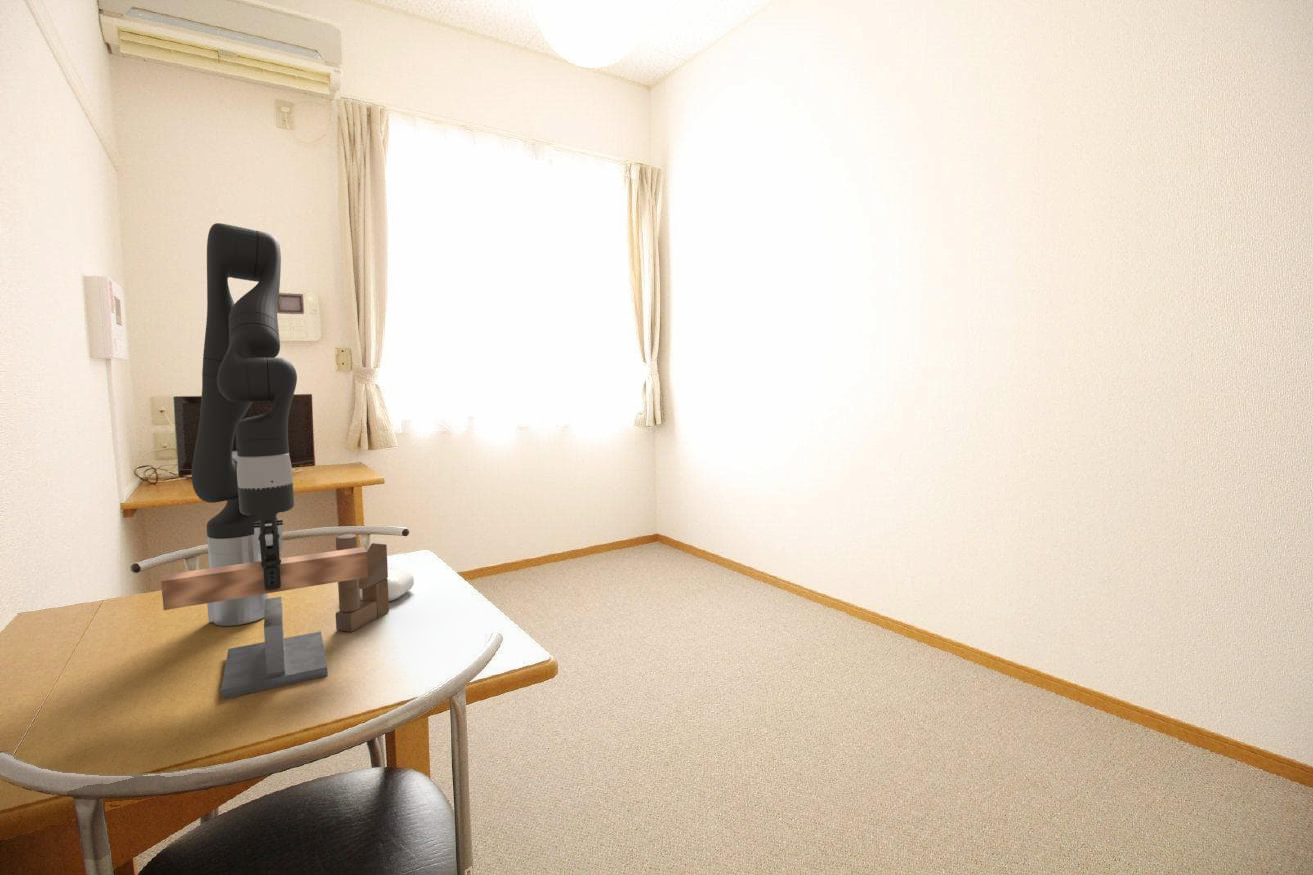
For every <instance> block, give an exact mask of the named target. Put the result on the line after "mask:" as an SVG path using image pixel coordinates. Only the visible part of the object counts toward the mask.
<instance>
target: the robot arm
mask: <svg viewBox="0 0 1313 875" xmlns="http://www.w3.org/2000/svg"><path fill="white" fill-rule="evenodd" d="M281 255H282V254H281V247H280V243H279V241H278V239H277V237H276V236H275V235H273V234H270V233H268V232H265V231H261V230H255V229H251V228H246V227H241V226H238V225H237V226H236V225H233V224H231V225H230V224H227V223H221V222H216V223H215V222H214V224H212V225H211V226H210V228H209V231H208V235H207V240H206V293H207V294H206V296H207V297H206V298H207V299H206V300H207V302H206V303H207V304H206V308H207V309H206V325H205V333H204V343H203V354H202V370H201V373H202V374H201V376H202V377H201V382H202V383H201V384H202V385H201V400H200V411H199V412H200V413H199V423H198V428H197V436H196V440H195V446H194V452H193V458H192V462H191V463H192V464H191V483H192V488H193V491H194V492H195V495H196V496H197V497H198V499H200V500H201V501H203V502H205V503H209V504H213V503H214V504H215V503H221V502H226V504H225V505H224V507H223V509H221V511H219V513H217V514H216V515H215V516H213V517H212V518H210V519H209V520H208V521H207V524H206V538H207V549H208V550H207V551H208V552H207V553H208V563H209V566H208V567H209V568H216V567H223V566H230V565H237V564H244V563H252V562H259V561H262V562H261V566H262V568H263V570H264V584H265V590H267V591H270V590H276V589H279V588H280V587H281V580H280V564H281V559H280V557H281V556H282V554H281V552H282V550H284V549H283V548H284V546H283V535H282V534H283V533H284V521H283V519H281V518H280V519H279V518H278V517H277V515H278V514H280V513H285V512H289V511H290V510H292V509H293V508H294V506H295V497H294V496H295V494H294V493H295V492H294V482H293V480H294V479H293V467H292V462H291V457H290V447H289V431H288V430H289V415H290V410H291V407H292V406H291V405H292V401H293V398H294V395H295V391H296V388H297V384H298V374H297V371H296V368H295V366H294V364H293V363H292V362H291V361H289V359H286V358H283V357H277V356H278V355H279V354H280V350H281V340H280V331H279V322H278V309H279V308H278V306H279V298H280V288H281V271H282V270H281V268H282V267H281V266H282V264H281V263H282V262H281V261H282V256H281ZM229 278H232V279H236V280H237V279H238V280H244V281H250V282H257V284H255V285H254V286H253V287H252V288H251V289H250V290H249V291H248V292H246V293H245V294H243V295H242V296H241V297H240V298H239V299H238V300H237V301H234V299H233V297H232V294H231V291H230V286H229V281H228V280H229ZM268 402H270V403H271V402H272V407H271V408H270V410H269V411H267V412H265V413H263V414H260V415H259V414H258V415H255V416H250V417H246V418H244V416H246V413H247V411H248V410H249V409H250V407H251V406H252V404H253V403H268ZM234 439H235V441H236V442H235V443H236V450H233V446H234V445H233V444H234ZM265 599H269V593H267V594H261V595H255V596H249V597H242V598H236V599H230V600H224V601H218V602H212V603H206V605H207V608H206V609H207V617H208V618H207V619H208V623H214V624H215V625H217V626H221V627H222V626H225V627H229V626H230V627H231V626H239V625H245V624H249V623H252V622H256V621H259V620H261V619H263V618H264V614H265Z"/></svg>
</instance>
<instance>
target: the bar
mask: <svg viewBox="0 0 1313 875" xmlns="http://www.w3.org/2000/svg"><path fill="white" fill-rule="evenodd" d="M367 551H368V550H367V549H366V548H365V546H360V547H357V548H352V549H345V550H338V551H336V550H332V551H325V552H318V553H311V554H303V555H297V556H296V555H295V556H289V557H281V558H280V559H281V564H280V580H281V587H280V588H279V589H276V590H270V591H267V590H265V584H264V570H263V568H262V566H261V562H262V561H259V562H252V563H244V564H237V565H230V566H223V567H216V568H210V567H209V568H203V569H196V570H195V569H194V570H188V571H182V572H174V573H166V574H164V575H163V576H162V579H161V580H160V585H161V596H162V597H161V598H162V604H163V605H162V606H163V607H162V608H163V611H167V610H174V609H180V608H185V607H191V606H199V605H205V604H206V605H207V603H212V602H218V601H224V600H230V599H236V598H242V597H249V596H255V595H261V594H267V593H268V594H274V593H278V592H285V591H290V590H298V589H303V588H308V587H316V586H321V585H326V584H327V585H328V584H334V583H338V582H341V581H347V580H353V579H359V578H365V577H368V566H367Z"/></svg>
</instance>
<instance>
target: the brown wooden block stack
mask: <svg viewBox="0 0 1313 875" xmlns="http://www.w3.org/2000/svg"><path fill="white" fill-rule="evenodd" d="M387 546H388V545H387V544H386V543H378V542H377V543H376V542H375V543H374V542H372V543H371V544H370V545H369V548H368V549H367V550H366V551H367V566H368V577H365V578H359V579H353V580H347V581H341V582H337V587H338V590H337V591H338V607H339V608H338V611H336V612H335V626H336V627H335V628H336V631H341V632H349V633H352V632H354V631H356V630H358V629H359V628H361V627H364V626H365V625H367V624H369V623H371V622H372V621H374V620H377V618H380V617H382V616H383V615H385V614H387V613H388V612H390V601H389V597H388V579H387V578H388V569H389V568H388V566H389V565H388V550H387V548H388V547H387ZM352 548H358V536H357V535H356V534H354V533H348V534H347V533H345V534H341V535H338V536H336V537H335V551H338V550H345V549H352ZM359 589H362V598H363V601H360V591H359Z"/></svg>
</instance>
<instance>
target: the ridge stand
mask: <svg viewBox="0 0 1313 875" xmlns="http://www.w3.org/2000/svg"><path fill="white" fill-rule="evenodd" d="M282 601H283V600H282V596H278V597H272V598H270V597H269V598H268V599H265V614H264V617H263V618H264V619H263V620H264V621H263V636H264V642H263V641H262V642H257V643H252V644H246V645H241V646H237V647H231V648H228V649H227V655H226V660H225V666H224V672H223V678H222V683H221V689H220V692H221V693H220V694H221V700H226V699H230V698H234V697H238V696H242V695H243V696H244V695H249V694H253V693H257V692H261V691H266V690H269V689H271V690H272V689H274V688H280V687H284V686H287V685H288V686H289V685H293V684H297V683H302V682H305V681H310V680H315V679H318V678H323V677H328V673H329V672H328V663H327V658H326V657H327V656H326V652H325V646H324V639H323V634H322V630H321V631H316V632H315V631H314V632H310V633H305V634H301V635H299V634H298V635H294V636H290V637H285V635H284V634H285V633H284V632H285V631H284V620H283V619H284V616H283V602H282Z"/></svg>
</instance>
